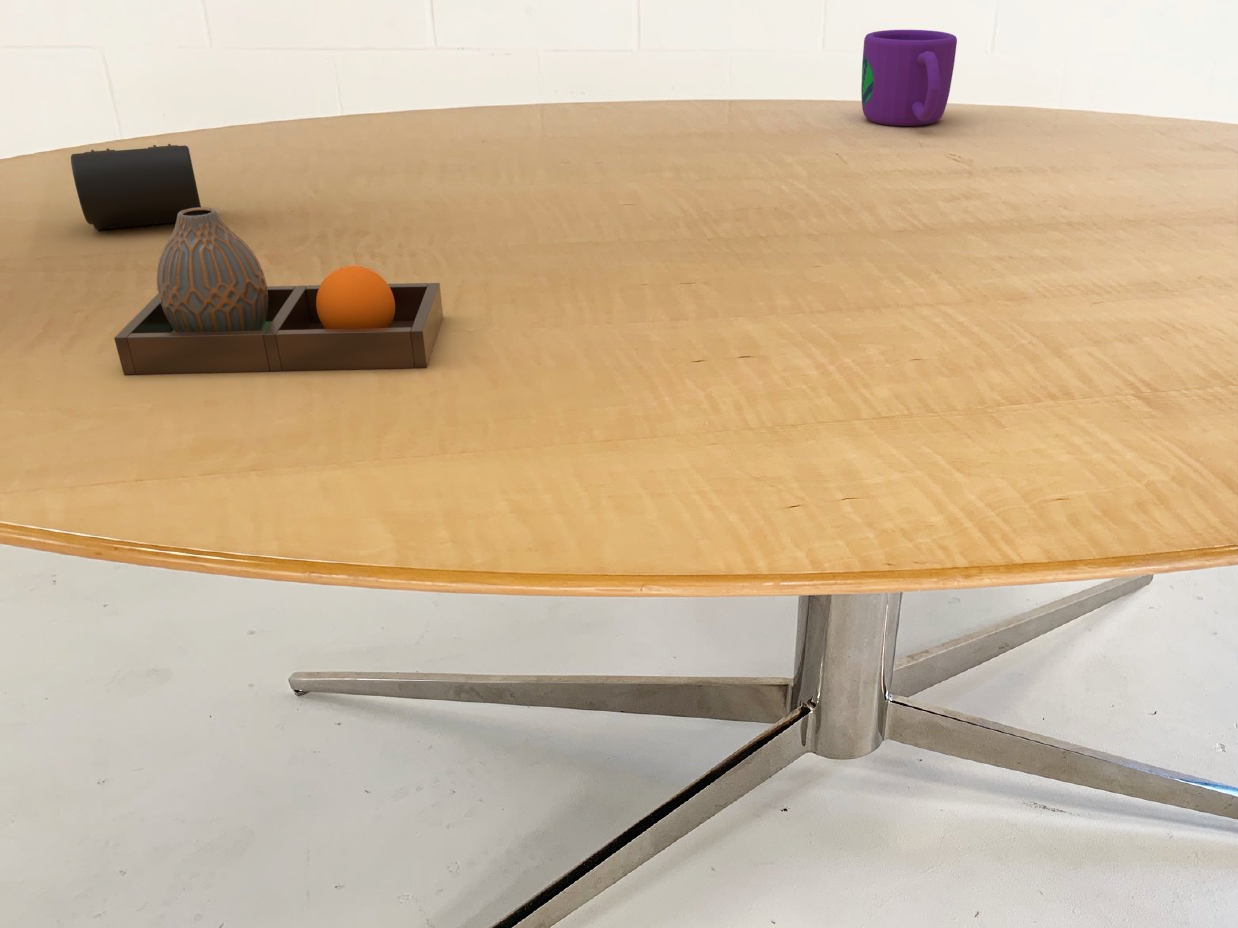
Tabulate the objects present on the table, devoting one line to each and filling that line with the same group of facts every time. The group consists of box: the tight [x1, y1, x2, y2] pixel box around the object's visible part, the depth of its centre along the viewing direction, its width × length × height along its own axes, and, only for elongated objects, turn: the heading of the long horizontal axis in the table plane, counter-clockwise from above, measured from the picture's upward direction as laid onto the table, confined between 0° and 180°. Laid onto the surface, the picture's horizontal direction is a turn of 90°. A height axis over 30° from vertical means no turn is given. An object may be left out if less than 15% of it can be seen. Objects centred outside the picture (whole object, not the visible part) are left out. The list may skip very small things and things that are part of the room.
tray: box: [114, 282, 444, 377], centre depth 80 cm, size 20×10×3 cm, turn 93°
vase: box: [156, 206, 268, 332], centre depth 78 cm, size 7×7×9 cm
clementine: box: [316, 265, 395, 329], centre depth 79 cm, size 5×5×5 cm
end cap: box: [70, 143, 202, 231], centre depth 108 cm, size 10×7×7 cm
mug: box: [860, 29, 958, 127], centre depth 145 cm, size 17×11×10 cm, turn 6°
